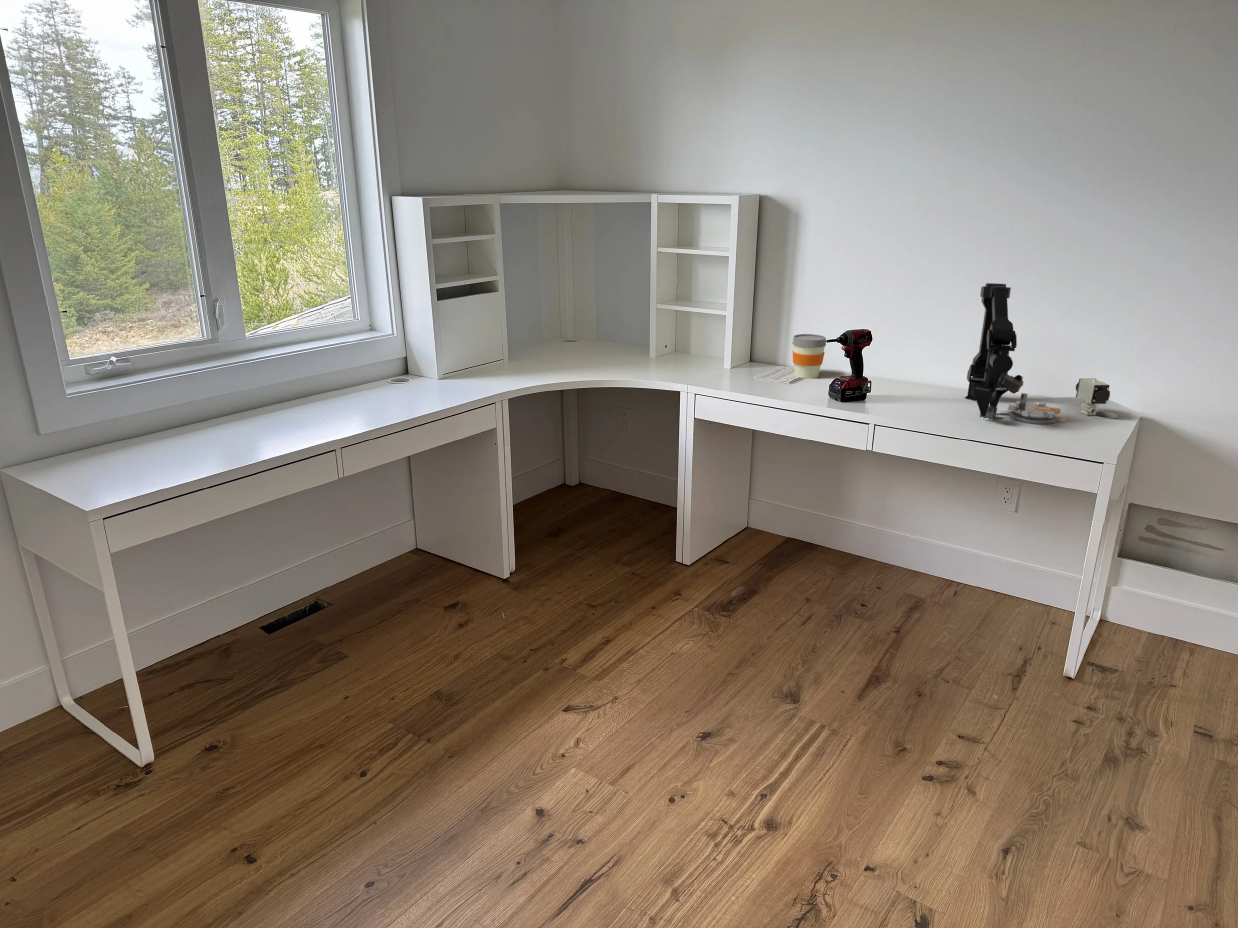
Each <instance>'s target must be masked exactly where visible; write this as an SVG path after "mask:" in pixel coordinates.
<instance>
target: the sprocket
mask: <svg viewBox="0 0 1238 928" xmlns="http://www.w3.org/2000/svg"><path fill="white" fill-rule="evenodd" d="M1027 397H1028V393H1026V392H1021V393H1020V400H1016V401H1015V404H1008V406H1007V410H1008V411H1013V413H1014V414H1015V415H1017V416H1020V417H1024V418H1028V419H1037V420H1048V419H1052V418H1054V416H1055V415H1060V414H1061V409H1062V408H1060V407H1050V406H1047V405H1046V404H1047V403H1046V402H1042V401H1039V402H1037V403H1027V399H1028V398H1027Z"/></svg>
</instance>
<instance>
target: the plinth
mask: <svg viewBox="0 0 1238 928" xmlns="http://www.w3.org/2000/svg"><path fill="white" fill-rule="evenodd" d="M1009 417H1010V418H1011V419H1013V420H1015V421H1017V422H1021V423H1025V424H1032V425H1053V424H1055V423H1056V422H1057V416H1056V415H1054V418H1052V419H1048V420H1037V419H1028V418H1024V417H1020V416H1017V415H1015V414H1014V413H1013V411H1012V410H1010V412H1009ZM1058 422H1062V423H1066V422H1067V419H1064V418H1059V419H1058Z"/></svg>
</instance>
